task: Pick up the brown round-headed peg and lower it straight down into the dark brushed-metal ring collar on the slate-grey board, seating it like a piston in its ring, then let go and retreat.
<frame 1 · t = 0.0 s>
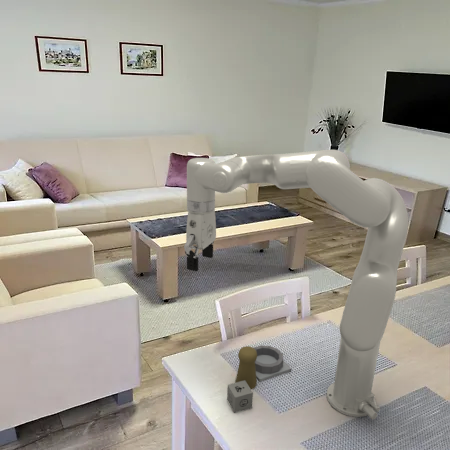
hand: (200, 263, 120), 31 cm above the table, tool pointing down, fingers open, 9 cm apart
dice cube: (239, 404, 112), on the table
ring board: (265, 365, 127), on the table
brown round-headed peg: (246, 383, 120), on the table
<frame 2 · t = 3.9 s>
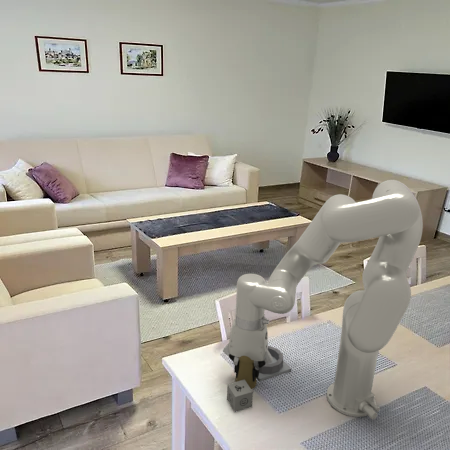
hand: (246, 376, 119), 2 cm above the table, tool pointing down, fingers closed on brown round-headed peg, 4 cm apart
brown round-headed peg: (245, 383, 120), on the table, touching gripper
everything else where it was.
when the fingers open (5 cm above the table, at t = 8.2 s): brown round-headed peg drops 1 cm, resting on ring board.
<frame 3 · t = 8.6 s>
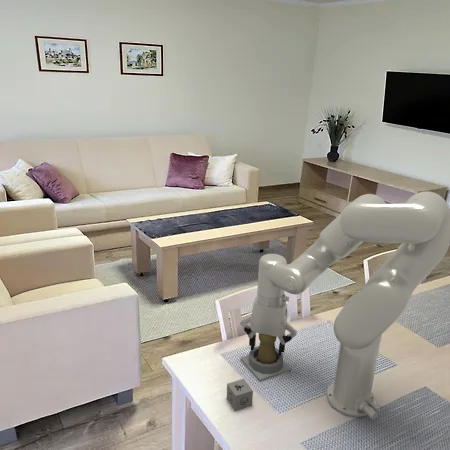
hand: (266, 350, 125), 5 cm above the table, tool pointing down, fingers open, 7 cm apart
brown round-headed peg: (266, 363, 127), point 1 cm above the table, touching ring board
everything else where it was.
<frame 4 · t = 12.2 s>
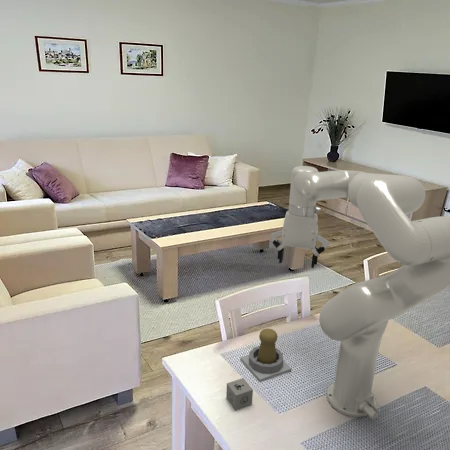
hand: (296, 263, 128), 28 cm above the table, tool pointing down, fingers open, 9 cm apart
nothing on the table moved.
at the end: brown round-headed peg 0.3 cm off-centre on the ring board, point 0.8 cm above the ring board's base; brown round-headed peg tilted 0°; the gripper is holding nothing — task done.
